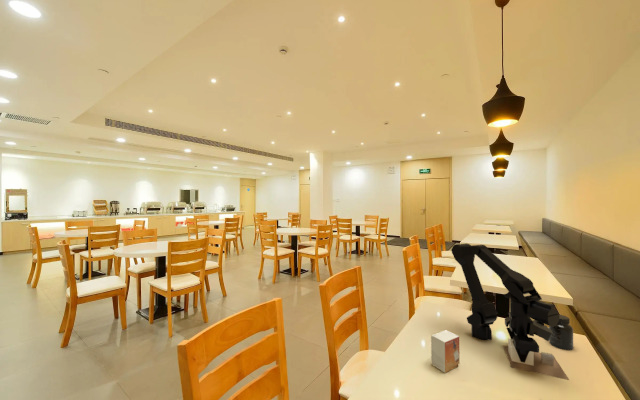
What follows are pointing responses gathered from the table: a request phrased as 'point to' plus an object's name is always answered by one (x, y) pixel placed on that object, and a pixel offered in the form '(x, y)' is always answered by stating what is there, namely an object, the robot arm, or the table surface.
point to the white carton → (515, 356)
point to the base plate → (538, 366)
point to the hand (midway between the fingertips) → (520, 356)
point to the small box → (445, 350)
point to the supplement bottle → (562, 334)
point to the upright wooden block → (547, 358)
